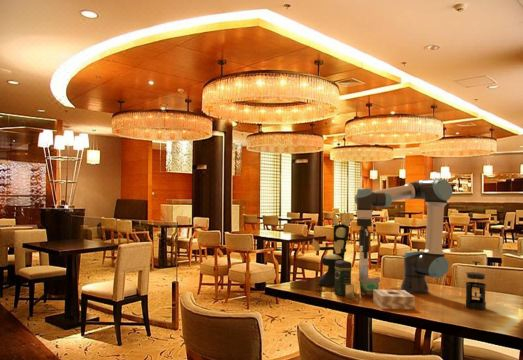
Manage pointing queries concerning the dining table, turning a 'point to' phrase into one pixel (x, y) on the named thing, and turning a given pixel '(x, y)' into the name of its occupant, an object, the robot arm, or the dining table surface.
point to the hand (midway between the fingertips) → (363, 264)
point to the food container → (368, 286)
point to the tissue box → (393, 299)
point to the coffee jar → (342, 276)
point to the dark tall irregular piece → (334, 249)
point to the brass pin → (349, 291)
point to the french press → (471, 302)
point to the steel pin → (362, 266)
